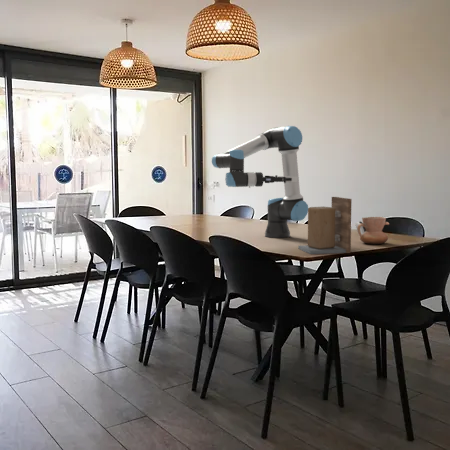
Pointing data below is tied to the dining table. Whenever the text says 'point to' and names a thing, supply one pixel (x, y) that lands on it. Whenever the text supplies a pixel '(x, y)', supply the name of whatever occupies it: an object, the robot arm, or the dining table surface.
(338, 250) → the plate
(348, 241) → the cabinet side
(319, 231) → the wooden block
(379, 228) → the ceramic jug
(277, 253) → the dining table surface
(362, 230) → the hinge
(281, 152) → the robot arm
